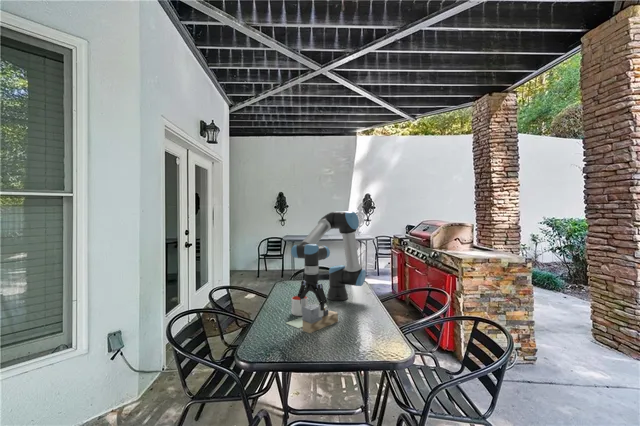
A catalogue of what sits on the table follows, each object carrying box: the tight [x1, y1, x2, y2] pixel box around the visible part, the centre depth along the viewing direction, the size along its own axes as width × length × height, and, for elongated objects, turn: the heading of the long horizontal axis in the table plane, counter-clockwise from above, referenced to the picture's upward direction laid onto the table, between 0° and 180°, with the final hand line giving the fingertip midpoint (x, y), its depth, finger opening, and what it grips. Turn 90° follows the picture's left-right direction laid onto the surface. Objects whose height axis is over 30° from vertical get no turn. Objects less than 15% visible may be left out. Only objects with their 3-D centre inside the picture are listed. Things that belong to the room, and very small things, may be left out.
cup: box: [290, 295, 309, 317], centre depth 180 cm, size 10×10×10 cm
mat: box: [285, 316, 303, 330], centre depth 165 cm, size 12×11×1 cm
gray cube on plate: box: [301, 303, 322, 324], centre depth 156 cm, size 8×7×7 cm
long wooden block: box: [302, 310, 339, 334], centre depth 160 cm, size 22×6×5 cm, turn 136°
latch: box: [323, 307, 329, 316], centre depth 162 cm, size 3×3×4 cm
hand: (311, 313), depth 155 cm, fingers open, 13 cm apart
